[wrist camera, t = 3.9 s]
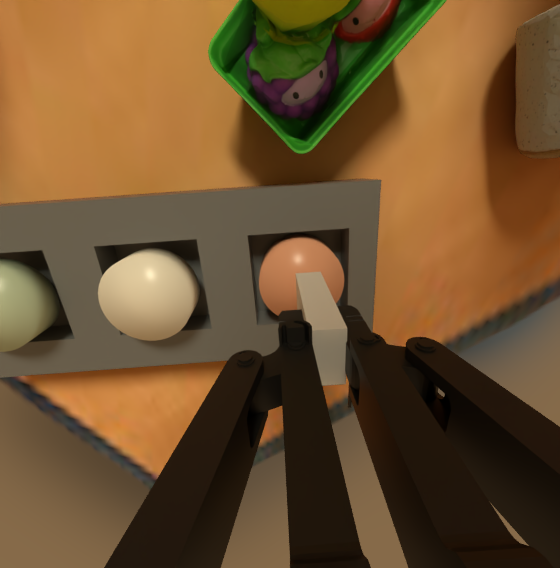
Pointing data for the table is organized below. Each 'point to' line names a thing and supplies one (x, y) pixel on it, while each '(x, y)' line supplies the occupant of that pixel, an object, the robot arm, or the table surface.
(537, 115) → the ceramic mug
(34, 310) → the sage button
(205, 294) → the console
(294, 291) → the terracotta button
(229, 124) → the table surface
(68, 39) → the table surface
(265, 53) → the fruit basket
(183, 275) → the cream button
